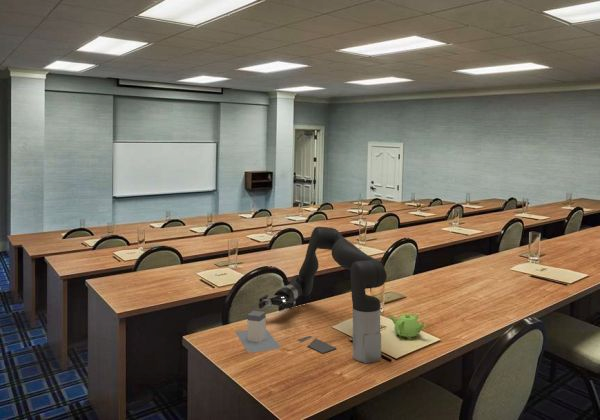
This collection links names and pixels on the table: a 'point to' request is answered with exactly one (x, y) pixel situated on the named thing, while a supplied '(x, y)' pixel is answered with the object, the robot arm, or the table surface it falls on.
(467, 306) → the table surface
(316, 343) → the smartphone
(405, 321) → the teapot
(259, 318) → the block
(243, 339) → the desk mat
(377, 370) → the table surface
